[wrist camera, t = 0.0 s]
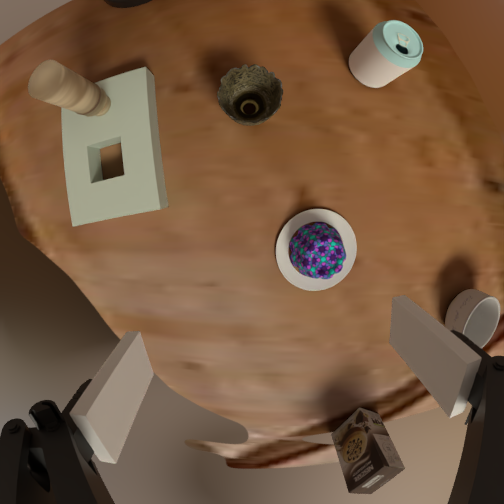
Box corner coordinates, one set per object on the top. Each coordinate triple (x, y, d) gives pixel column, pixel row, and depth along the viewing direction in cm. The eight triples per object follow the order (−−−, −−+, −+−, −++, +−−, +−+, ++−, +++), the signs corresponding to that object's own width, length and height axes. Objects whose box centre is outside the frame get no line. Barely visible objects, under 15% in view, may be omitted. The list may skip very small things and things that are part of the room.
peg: (87, 96, 32) (29, 69, 19) (114, 87, 32) (60, 52, 18) (88, 124, 33) (26, 105, 20) (115, 115, 33) (58, 89, 19)
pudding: (321, 303, 44) (330, 317, 39) (258, 258, 42) (259, 269, 37) (369, 241, 42) (384, 248, 37) (309, 191, 40) (318, 192, 35)
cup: (268, 140, 38) (274, 129, 31) (216, 127, 38) (209, 114, 30) (281, 92, 37) (289, 72, 29) (230, 80, 36) (227, 58, 28)
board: (74, 101, 36) (61, 96, 32) (154, 75, 36) (145, 66, 32) (86, 222, 40) (72, 226, 36) (168, 206, 40) (160, 209, 36)
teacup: (450, 279, 44) (476, 294, 36) (483, 286, 44) (509, 300, 37) (424, 348, 47) (445, 370, 39) (459, 348, 47) (480, 367, 40)
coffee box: (358, 406, 49) (385, 465, 33) (379, 413, 50) (407, 468, 34) (329, 434, 51) (347, 493, 35) (350, 440, 52) (371, 495, 36)
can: (395, 84, 36) (436, 60, 25) (360, 93, 37) (396, 67, 25) (375, 46, 35) (409, 14, 23) (339, 53, 35) (367, 18, 24)
